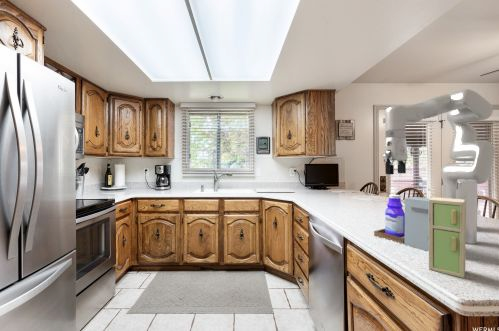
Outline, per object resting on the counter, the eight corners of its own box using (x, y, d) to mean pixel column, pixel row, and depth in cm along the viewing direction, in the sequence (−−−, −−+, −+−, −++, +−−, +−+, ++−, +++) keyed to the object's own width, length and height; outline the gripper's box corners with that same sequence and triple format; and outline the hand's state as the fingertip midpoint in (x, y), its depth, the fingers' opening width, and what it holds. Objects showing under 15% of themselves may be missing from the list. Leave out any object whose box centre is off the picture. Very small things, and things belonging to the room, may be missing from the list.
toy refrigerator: (427, 270, 69) (427, 199, 69) (431, 262, 74) (432, 196, 74) (463, 279, 63) (464, 202, 63) (465, 271, 69) (466, 199, 68)
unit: (415, 241, 95) (416, 196, 95) (452, 250, 84) (453, 200, 84) (403, 244, 90) (403, 198, 90) (440, 255, 80) (441, 203, 80)
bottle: (382, 233, 102) (382, 194, 102) (392, 232, 104) (392, 193, 104) (397, 239, 95) (397, 196, 95) (407, 237, 97) (408, 195, 97)
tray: (387, 232, 107) (387, 227, 107) (414, 239, 97) (414, 234, 97) (374, 235, 102) (374, 231, 102) (401, 243, 92) (401, 238, 92)
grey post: (455, 237, 99) (456, 178, 99) (477, 241, 94) (477, 179, 94) (454, 241, 94) (454, 179, 94) (476, 245, 90) (477, 180, 90)
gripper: (393, 133, 96) (393, 175, 96) (414, 134, 104) (415, 173, 105) (375, 135, 102) (376, 174, 102) (397, 136, 111) (397, 172, 111)
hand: (395, 173), depth 104 cm, fingers open, 9 cm apart
